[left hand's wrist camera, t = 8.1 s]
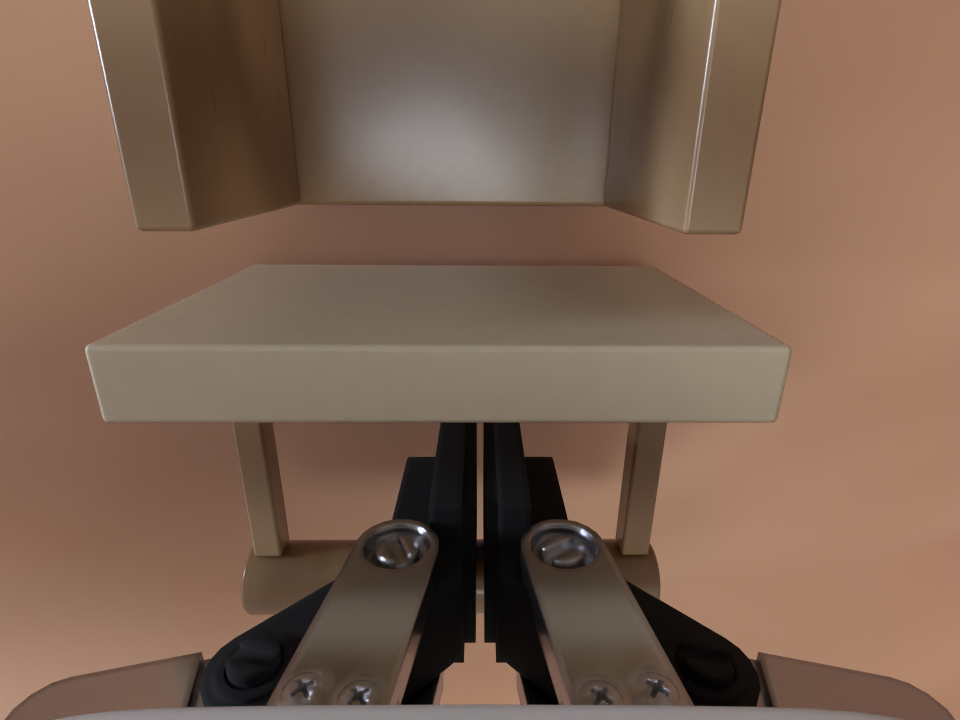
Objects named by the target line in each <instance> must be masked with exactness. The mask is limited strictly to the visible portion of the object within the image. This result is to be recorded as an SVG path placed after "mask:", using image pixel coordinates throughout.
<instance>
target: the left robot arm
mask: <svg viewBox="0 0 960 720" xmlns="http://www.w3.org/2000/svg"><path fill="white" fill-rule="evenodd" d="M483 534H484V638H485V643H496V662H506V663H508V664H509V665H510V666H511V667H512V668H514V669H515V670H516V671H517V690H518V695H519V699H520V703H521V705H439V703H440V699H441V695H442V690H443V671H444V670H445V669H447V668H448V667H449V666H450V665H451V664H453V663H464V643H476V548H477V422H441V425H440V432H439V439H438V445H437V452H436V457H408V459H407V462H406V466H405V470H404V474H403V478H402V482H401V487H400V491H399V495H398V499H397V503H396V507H395V511H394V515H393V519H392V520H391V521H385V522H382V523H380V524H377V525H375V526H372V527H371V528H370V529H368V530H367V531H365V532H364V533H363V534H362V535H361V536H360V537H359V539H358V540H357V541H356V543H355V545H354V547H353V548H352V550H351V552H350V554H349V556H348V557H347V559H346V561H345V563H344V565H343V567H342V568H341V570H340V572H339V574H338V576H337V577H336V579H335V580H334V581H332V582H330V583H329V584H327V585H325V586H323V587H322V588H320V589H318V590H317V591H315V592H313V593H311V594H310V595H308V596H306V597H305V598H303V599H301V600H299V601H298V602H296V603H294V604H293V605H291V606H289V607H288V608H286V609H284V610H282V611H281V612H279V613H277V614H276V615H274V616H272V617H270V618H269V619H267V620H265V621H264V622H262V623H260V624H258V625H257V626H255V627H253V628H252V629H250V630H248V631H246V632H245V633H243V634H241V635H240V636H238V637H236V638H235V639H233V640H232V641H230V642H229V643H228V644H226V645H225V646H223V647H222V648H221V649H220V650H219V651H218V652H217V653H216V654H215V655H214V656H213V658H212V659H207V660H204V659H203V655H202V652H199V653H194V654H189V655H184V656H178V657H173V658H168V659H163V660H157V661H152V662H147V663H142V664H136V665H131V666H126V667H120V668H115V669H110V670H105V671H99V672H94V673H89V674H84V675H78V676H73V677H69V678H66V679H63V680H60V681H57V682H54V683H51V684H49V685H47V686H46V687H44V688H42V689H40V690H38V691H37V692H35V693H33V694H31V695H30V696H29V697H28V698H26V699H25V700H24V701H23V702H21V703H20V704H19V705H18V706H16V707H15V708H14V709H13V710H12V711H11V712H10V714H9V715H8V716H7V717H6V719H5V720H955V719H954V717H953V716H952V715H951V714H950V712H949V711H948V710H947V709H946V708H945V707H944V706H942V705H941V704H940V703H939V702H937V701H936V700H935V699H934V698H933V697H931V696H930V695H929V694H927V693H925V692H924V691H922V690H920V689H918V688H916V687H914V686H913V685H911V684H909V683H906V682H903V681H900V680H897V679H894V678H891V677H887V676H882V675H876V674H871V673H866V672H861V671H855V670H850V669H845V668H840V667H834V666H829V665H824V664H819V663H813V662H808V661H803V660H798V659H792V658H787V657H782V656H776V655H771V654H766V653H761V652H758V655H757V660H753V659H749V658H748V657H747V656H746V655H745V654H744V653H743V652H742V651H741V650H740V649H739V648H738V647H737V646H735V645H734V644H733V643H731V642H730V641H728V640H727V639H726V638H724V637H722V636H721V635H719V634H717V633H715V632H714V631H712V630H710V629H709V628H707V627H705V626H703V625H702V624H700V623H698V622H697V621H695V620H693V619H691V618H690V617H688V616H686V615H685V614H683V613H681V612H679V611H678V610H676V609H674V608H673V607H671V606H669V605H667V604H666V603H664V602H662V601H661V600H659V599H657V598H656V597H654V596H652V595H650V594H649V593H647V592H645V591H644V590H642V589H640V588H638V587H637V586H635V585H633V584H632V583H630V582H628V581H626V580H625V579H624V577H623V576H622V574H621V572H620V570H619V568H618V567H617V565H616V563H615V561H614V559H613V557H612V556H611V554H610V552H609V550H608V548H607V547H606V545H605V543H604V541H603V540H602V539H601V537H600V536H599V535H598V534H597V533H596V532H595V531H593V530H592V529H590V528H589V527H588V526H585V525H583V524H580V523H578V522H575V521H569V520H568V519H567V514H566V510H565V506H564V502H563V498H562V494H561V490H560V486H559V482H558V478H557V474H556V470H555V466H554V461H553V459H552V457H524V451H523V444H522V438H521V431H520V424H519V422H484V452H483Z"/></svg>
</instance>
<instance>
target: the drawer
mask: <svg viewBox="0 0 960 720" xmlns="http://www.w3.org/2000/svg"><path fill="white" fill-rule="evenodd" d="M87 1H88V6H89V11H90V15H91V20H92V25H93V29H94V34H95V39H96V43H97V48H98V53H99V57H100V62H101V67H102V72H103V76H104V81H105V86H106V90H107V95H108V100H109V104H110V109H111V114H112V119H113V123H114V128H115V133H116V137H117V142H118V147H119V151H120V156H121V161H122V165H123V170H124V175H125V180H126V184H127V189H128V194H129V198H130V203H131V208H132V212H133V217H134V222H135V226H136V227H137V229H139V230H142V231H195V230H199V229H203V228H207V227H211V226H215V225H219V224H223V223H227V222H231V221H235V220H239V219H243V218H247V217H250V216H254V215H258V214H262V213H266V212H270V211H274V210H278V209H282V208H286V207H290V206H294V205H297V204H340V205H499V206H607V207H609V208H612V209H615V210H618V211H621V212H624V213H627V214H630V215H633V216H635V217H638V218H641V219H644V220H647V221H650V222H653V223H656V224H659V225H662V226H664V227H667V228H670V229H673V230H676V231H679V232H682V233H685V234H737V233H740V231H741V229H742V224H743V218H744V212H745V206H746V201H747V195H748V189H749V183H750V178H751V172H752V166H753V160H754V155H755V149H756V143H757V137H758V132H759V126H760V120H761V115H762V109H763V103H764V97H765V92H766V86H767V80H768V74H769V69H770V63H771V57H772V51H773V46H774V40H775V34H776V28H777V23H778V17H779V11H780V5H781V0H87ZM85 353H86V357H87V360H88V364H89V368H90V372H91V375H92V379H93V383H94V387H95V390H96V394H97V398H98V402H99V405H100V409H101V413H102V417H103V419H104V420H105V421H106V422H232V427H233V433H234V439H235V445H236V450H237V456H238V462H239V468H240V473H241V479H242V485H243V491H244V497H245V502H246V508H247V514H248V520H249V525H250V531H251V537H252V543H253V547H252V549H251V550H250V552H249V554H248V557H247V560H246V563H245V566H244V571H243V576H242V587H241V595H242V603H243V607H244V609H245V611H246V612H248V613H249V614H277V613H279V612H281V611H282V610H284V609H286V608H288V607H289V606H291V605H293V604H294V603H296V602H298V601H299V600H301V599H303V598H305V597H306V596H308V595H310V594H311V593H313V592H315V591H317V590H318V589H320V588H322V587H323V586H325V585H327V584H329V583H330V582H332V581H334V580H335V579H336V577H337V576H338V574H339V572H340V570H341V568H342V567H343V565H344V563H345V561H346V559H347V557H348V556H349V554H350V552H351V550H352V548H353V547H354V545H355V543H356V541H357V540H289V534H288V527H287V520H286V513H285V506H284V499H283V492H282V485H281V478H280V471H279V464H278V457H277V450H276V443H275V436H274V429H273V422H629V427H628V436H627V444H626V453H625V461H624V470H623V479H622V487H621V496H620V504H619V513H618V521H617V530H616V539H602V540H603V541H604V543H605V545H606V547H607V548H608V550H609V552H610V554H611V556H612V557H613V559H614V561H615V563H616V565H617V567H618V568H619V570H620V572H621V574H622V576H623V577H624V579H625V580H626V581H628V582H630V583H632V584H633V585H635V586H637V587H638V588H640V589H642V590H644V591H645V592H647V593H649V594H650V595H652V596H654V597H656V598H657V599H660V575H659V568H658V563H657V559H656V556H655V553H654V550H653V548H652V546H651V544H650V536H651V529H652V522H653V515H654V508H655V502H656V495H657V488H658V481H659V474H660V467H661V460H662V453H663V446H664V439H665V432H666V425H667V422H775V421H776V419H777V417H778V412H779V408H780V403H781V399H782V394H783V390H784V385H785V381H786V376H787V372H788V367H789V363H790V359H791V354H792V351H791V347H790V346H788V345H786V344H785V343H783V342H781V341H780V340H778V339H776V338H775V337H773V336H771V335H769V334H768V333H766V332H764V331H763V330H761V329H759V328H757V327H756V326H754V325H752V324H751V323H749V322H747V321H746V320H744V319H742V318H740V317H739V316H737V315H735V314H734V313H732V312H730V311H728V310H727V309H725V308H723V307H722V306H720V305H718V304H717V303H715V302H713V301H711V300H710V299H708V298H706V297H705V296H703V295H701V294H699V293H698V292H696V291H694V290H693V289H691V288H689V287H688V286H686V285H684V284H682V283H681V282H679V281H677V280H676V279H674V278H672V277H670V276H669V275H667V274H665V273H664V272H662V271H660V270H659V269H657V268H655V267H653V266H490V265H269V264H255V265H253V266H251V267H249V268H247V269H244V270H242V271H240V272H238V273H236V274H234V275H232V276H230V277H228V278H226V279H224V280H222V281H219V282H217V283H215V284H213V285H211V286H209V287H207V288H205V289H203V290H201V291H199V292H197V293H195V294H192V295H190V296H188V297H186V298H184V299H182V300H180V301H178V302H176V303H174V304H172V305H170V306H167V307H165V308H163V309H161V310H159V311H157V312H155V313H153V314H151V315H149V316H147V317H145V318H143V319H140V320H138V321H136V322H134V323H132V324H130V325H128V326H126V327H124V328H122V329H120V330H118V331H115V332H113V333H111V334H109V335H107V336H105V337H103V338H101V339H99V340H97V341H95V342H93V343H91V344H88V345H87V346H86V348H85ZM476 613H484V539H477V548H476Z"/></svg>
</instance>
